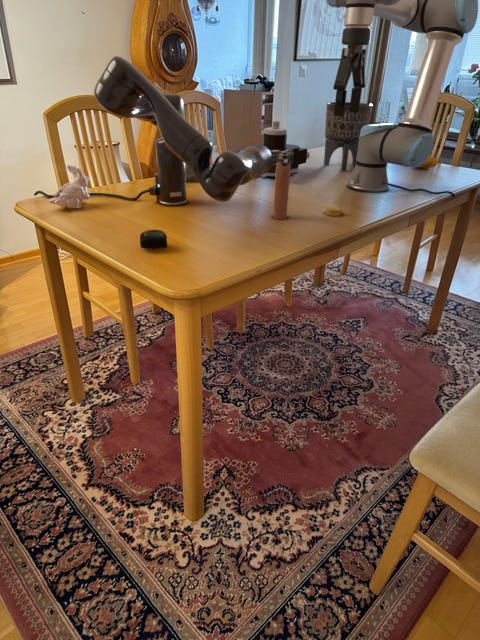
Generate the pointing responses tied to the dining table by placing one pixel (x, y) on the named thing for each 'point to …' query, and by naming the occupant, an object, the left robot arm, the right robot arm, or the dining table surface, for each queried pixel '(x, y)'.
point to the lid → (333, 211)
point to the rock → (189, 174)
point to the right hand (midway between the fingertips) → (346, 114)
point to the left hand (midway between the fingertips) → (273, 152)
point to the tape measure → (153, 239)
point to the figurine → (72, 190)
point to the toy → (429, 163)
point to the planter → (345, 131)
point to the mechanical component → (283, 147)
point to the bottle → (281, 191)
